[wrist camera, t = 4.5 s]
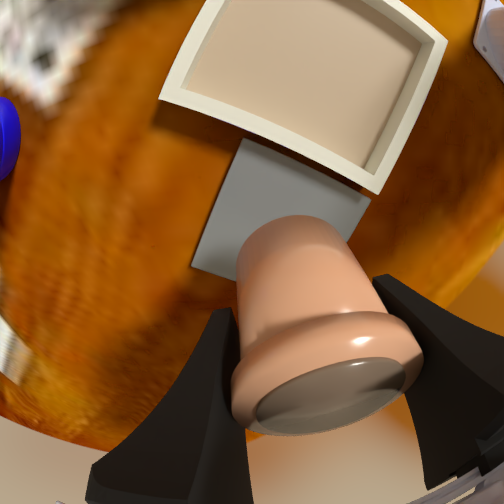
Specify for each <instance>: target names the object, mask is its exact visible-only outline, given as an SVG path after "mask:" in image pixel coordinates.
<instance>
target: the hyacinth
mask: <svg viewBox="0 0 504 504" xmlns="http://www.w3.org/2000/svg"><path fill="white" fill-rule="evenodd" d="M20 137H21V132H20V122H19V117H18V114H17V111H16V109H15V107H14V105H13V104H12V103H11V102H10V100H8V99H7V98H5V97H0V181H1V180H2V179H4V178H5V177H6V176H7V175H8V174H9V173H10V172H11V170H12V169H13V167H14V165H15V163H16V160H17V157H18V153H19V148H20Z"/></svg>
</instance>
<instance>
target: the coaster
mask: <svg viewBox="0 0 504 504" xmlns="http://www.w3.org/2000/svg"><path fill="white" fill-rule="evenodd" d="M370 202H371V199H370V198H368V197H367V196H365V195H363V194H362V193H360V192H358V191H356V190H354V189H353V188H351V187H349V186H347V185H345V184H343V183H341V182H339V181H338V180H336V179H334V178H332V177H330V176H328V175H326V174H324V173H322V172H320V171H318V170H316V169H314V168H312V167H310V166H308V165H306V164H304V163H302V162H299V161H297V160H295V159H293V158H291V157H289V156H287V155H284V154H282V153H280V152H278V151H275V150H273V149H271V148H269V147H266V146H264V145H262V144H259V143H257V142H255V141H252V140H250V139H247V138H245V137H243V139H242V141H241V143H240V146H239V148H238V150H237V152H236V155H235V157H234V159H233V161H232V164H231V166H230V168H229V171H228V173H227V175H226V178H225V180H224V182H223V185H222V187H221V190H220V192H219V194H218V197H217V199H216V202H215V204H214V207H213V209H212V212H211V214H210V217H209V219H208V222H207V224H206V227H205V229H204V232H203V234H202V237H201V240H200V242H199V245H198V247H197V250H196V253H195V255H194V258H193V261H192V264H191V266H192V267H195V268H198V269H201V270H204V271H206V272H209V273H212V274H215V275H218V276H221V277H224V278H227V279H230V280H233V281H236V261H237V257H238V254H239V251H240V249H241V247H242V245H243V244H244V242H245V241H246V239H247V238H248V237H249V236H250V235H251V234H252V233H253V232H254V231H255V230H257V229H258V228H259V227H261V226H262V225H264V224H266V223H268V222H270V221H272V220H275V219H277V218H281V217H285V216H291V215H307V216H313V217H317V218H320V219H322V220H324V221H326V222H328V223H329V224H331V225H332V226H333V227H334V228H336V229H337V231H338V232H339V233H340V234H341V236H342V237H343V239H344V241H345V242H346V243H347V241H348V240H349V238H350V236H351V235H352V233H353V231H354V229H355V228H356V226H357V224H358V223H359V221H360V219H361V217H362V216H363V214H364V212H365V210H366V209H367V207H368V205H369V203H370Z"/></svg>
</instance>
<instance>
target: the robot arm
mask: <svg viewBox="0 0 504 504" xmlns="http://www.w3.org/2000/svg"><path fill="white" fill-rule="evenodd" d="M473 43H474V46H475V48H476V49H477V50H478V51H479V53H480V54H481V55H482V56H483V57H484V58H485V60H486V61H487V62H488V63H489V65H490V66H491V67H492V68H493V70H494V71H495V72H496V73H497V75H498V76H499V77H500V79H501V80H502V81H503V83H504V6H503V5H502V3H501V2H500V1H499V0H483V2H482V7H481V12H480V16H479V20H478V24H477V28H476V32H475V36H474V40H473ZM372 286H373V287H374V289H375V291H376V293H377V294H378V296H379V298H380V299H381V301H382V303H383V305H384V306H385V308H386V310H387V312H388V314H391V315H394V316H396V317H398V318H400V319H401V320H402V321H404V322H405V323H406V324H407V326H408V327H409V328H410V330H411V332H412V334H413V336H414V337H415V339H416V341H417V343H418V345H419V347H420V348H421V350H422V353H423V356H424V363H423V367H422V369H421V372H420V374H419V375H418V377H417V379H416V380H415V381H414V383H413V384H412V385H411V386H410V387H409V388H408V389H407V390H406V391H405V392H404V394H405V397H406V400H407V403H408V406H409V409H410V412H411V415H412V419H413V423H414V426H415V430H416V434H417V438H418V443H419V447H420V452H421V458H422V464H423V472H424V482H425V485H426V488H427V490H430V489H432V488H434V487H436V486H438V485H440V484H442V483H444V482H446V481H448V480H449V479H451V478H453V477H455V476H457V478H458V479H457V480H455V481H453V482H451V483H449V484H447V485H446V486H444V487H442V488H440V489H438V490H436V491H434V492H432V493H430V494H428V495H426V496H424V497H421V498H419V499H417V500H415V501H412V502H410V503H408V504H446V503H448V502H449V501H451V500H453V499H455V498H456V497H458V496H460V495H462V494H463V493H465V492H467V491H468V490H470V489H472V488H473V487H475V486H476V485H477V486H476V487H475V491H474V492H473V493H472V494H470V495H468V496H466V497H464V498H462V499H460V500H458V501H456V502H454V503H453V504H504V337H503V336H500V335H497V334H495V333H492V332H490V331H487V330H484V329H482V328H480V327H477V326H475V325H473V324H471V323H469V322H467V321H465V320H463V319H461V318H459V317H457V316H455V315H453V314H452V313H450V312H448V311H446V310H445V309H443V308H441V307H440V306H438V305H436V304H435V303H433V302H431V301H430V300H428V299H426V298H425V297H423V296H422V295H420V294H419V293H417V292H416V291H414V290H412V289H411V288H409V287H408V286H406V285H405V284H403V283H402V282H400V281H399V280H397V279H395V278H394V277H392V276H390V275H389V274H384V275H380V276H376V277H373V281H372ZM240 361H241V359H240V341H239V330H238V327H237V324H236V321H235V318H234V315H233V312H232V309H231V307H229V308H223V309H217V310H214V311H213V312H212V314H211V316H210V319H209V321H208V323H207V325H206V327H205V329H204V331H203V333H202V335H201V337H200V339H199V341H198V343H197V345H196V347H195V349H194V351H193V353H192V354H191V356H190V358H189V360H188V361H187V363H186V365H185V366H184V368H183V370H182V371H181V373H180V375H179V376H178V378H177V379H176V381H175V382H174V384H173V385H172V387H171V388H170V389H169V391H168V392H167V393H166V395H165V396H164V397H163V399H162V400H161V401H160V402H159V404H158V405H157V406H156V407H155V408H154V410H153V411H152V412H151V413H150V414H149V416H148V417H147V418H146V419H145V420H144V421H143V422H142V423H141V424H140V425H139V426H138V427H137V428H136V429H135V430H134V431H133V432H132V433H131V434H130V435H129V436H128V437H127V438H126V439H125V440H123V441H122V442H121V443H120V444H119V445H118V446H117V447H115V448H114V449H113V450H111V451H110V452H109V453H107V454H106V455H105V456H103V457H102V458H101V459H100V460H98V461H97V462H95V463H94V464H92V467H91V471H90V475H89V480H88V486H87V490H86V496H85V501H86V502H87V503H88V504H254V502H253V497H252V488H251V481H250V474H249V465H248V457H247V446H246V436H245V427H243V426H241V425H240V424H239V423H238V422H237V421H236V420H235V419H234V417H233V415H232V407H231V377H232V374H233V372H234V370H235V368H236V366H237V365H238V364H239V362H240ZM56 504H64V503H62V502H60V501H56Z"/></svg>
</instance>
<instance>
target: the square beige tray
mask: <svg viewBox="0 0 504 504" xmlns="http://www.w3.org/2000/svg"><path fill="white" fill-rule="evenodd" d="M447 43H448V41H447V40H446V39H445V38H444V37H443V36H442V35H441V34H440V33H439V32H438V31H437V30H435V29H434V28H433V27H432V26H431V25H430V24H429V23H427V22H426V21H425V20H424V19H423V18H421V17H420V16H419V15H418V14H416V13H415V12H414V11H413V10H411V9H410V8H409V7H407V6H406V5H405V4H403V3H402V2H401V1H399V0H207V1H206V2H205V4H204V6H203V7H202V9H201V11H200V13H199V14H198V16H197V18H196V20H195V22H194V23H193V25H192V27H191V29H190V31H189V33H188V35H187V37H186V39H185V41H184V42H183V44H182V47H181V49H180V51H179V53H178V55H177V57H176V59H175V61H174V63H173V65H172V68H171V70H170V72H169V74H168V77H167V79H166V81H165V84H164V86H163V88H162V91H161V93H160V96H159V98H158V99H161V100H164V101H167V102H171V103H174V104H177V105H180V106H183V107H186V108H189V109H192V110H195V111H198V112H201V113H204V114H207V115H209V116H212V117H215V118H218V119H220V120H223V121H225V122H228V123H231V124H233V125H236V126H238V127H241V128H243V129H246V130H248V131H251V132H253V133H255V134H258V135H260V136H262V137H265V138H267V139H269V140H272V141H274V142H276V143H278V144H281V145H283V146H285V147H287V148H289V149H291V150H294V151H296V152H298V153H300V154H302V155H304V156H306V157H308V158H310V159H312V160H314V161H316V162H318V163H320V164H322V165H324V166H326V167H328V168H330V169H332V170H334V171H336V172H338V173H339V174H341V175H343V176H345V177H347V178H349V179H351V180H352V181H354V182H356V183H358V184H359V185H361V186H363V187H365V188H366V189H368V190H370V191H372V192H373V193H375V194H377V195H379V193H380V191H381V189H382V187H383V186H384V184H385V182H386V180H387V178H388V176H389V174H390V172H391V171H392V169H393V167H394V165H395V163H396V161H397V159H398V157H399V155H400V153H401V151H402V149H403V147H404V145H405V143H406V141H407V139H408V137H409V134H410V132H411V130H412V128H413V126H414V124H415V122H416V119H417V117H418V115H419V113H420V111H421V108H422V106H423V104H424V102H425V99H426V97H427V95H428V92H429V90H430V87H431V85H432V83H433V80H434V78H435V75H436V73H437V70H438V67H439V65H440V62H441V59H442V57H443V54H444V51H445V49H446V46H447Z"/></svg>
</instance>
